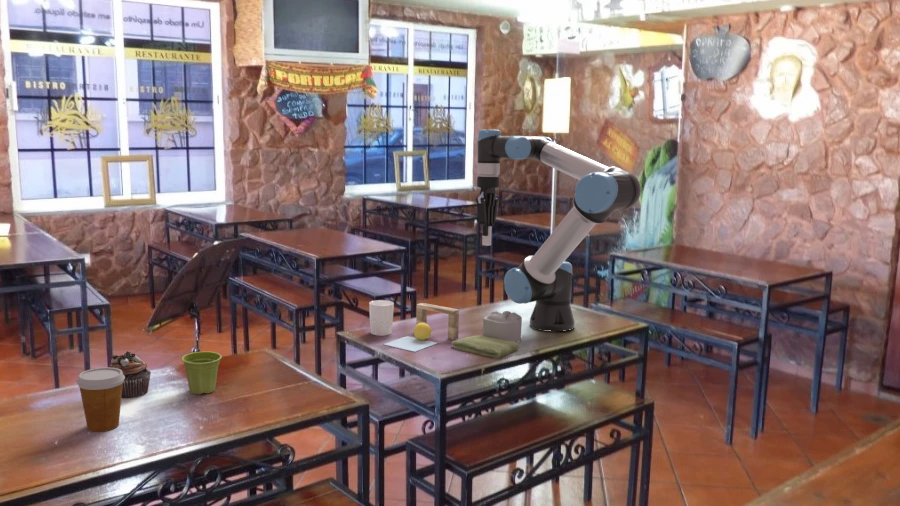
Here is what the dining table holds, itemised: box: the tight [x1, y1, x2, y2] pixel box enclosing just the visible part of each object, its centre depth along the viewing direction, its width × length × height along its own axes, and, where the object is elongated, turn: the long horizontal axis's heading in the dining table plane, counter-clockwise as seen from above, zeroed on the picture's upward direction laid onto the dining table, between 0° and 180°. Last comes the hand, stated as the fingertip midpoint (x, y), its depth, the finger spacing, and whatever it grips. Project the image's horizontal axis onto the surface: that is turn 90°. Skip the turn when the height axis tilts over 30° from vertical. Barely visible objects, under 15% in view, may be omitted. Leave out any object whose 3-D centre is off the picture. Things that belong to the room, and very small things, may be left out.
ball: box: [413, 323, 432, 340], centre depth 245 cm, size 6×6×6 cm
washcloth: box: [451, 335, 520, 359], centre depth 237 cm, size 13×18×3 cm
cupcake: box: [108, 351, 152, 400], centre depth 190 cm, size 10×10×10 cm
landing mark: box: [382, 335, 439, 353], centre depth 240 cm, size 12×12×1 cm
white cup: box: [368, 299, 395, 337], centre depth 251 cm, size 8×8×10 cm
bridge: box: [415, 302, 460, 341], centre depth 251 cm, size 3×14×9 cm, turn 56°
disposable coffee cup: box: [76, 366, 125, 433], centre depth 169 cm, size 10×10×12 cm
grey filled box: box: [481, 310, 523, 343], centre depth 248 cm, size 10×13×9 cm
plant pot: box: [181, 351, 223, 395], centre depth 194 cm, size 9×9×9 cm
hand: (486, 245), depth 266 cm, fingers closed
